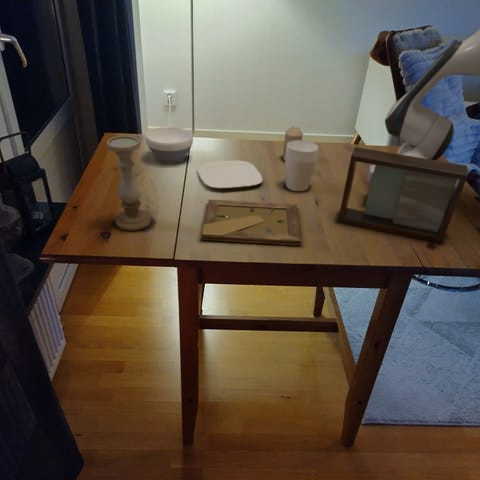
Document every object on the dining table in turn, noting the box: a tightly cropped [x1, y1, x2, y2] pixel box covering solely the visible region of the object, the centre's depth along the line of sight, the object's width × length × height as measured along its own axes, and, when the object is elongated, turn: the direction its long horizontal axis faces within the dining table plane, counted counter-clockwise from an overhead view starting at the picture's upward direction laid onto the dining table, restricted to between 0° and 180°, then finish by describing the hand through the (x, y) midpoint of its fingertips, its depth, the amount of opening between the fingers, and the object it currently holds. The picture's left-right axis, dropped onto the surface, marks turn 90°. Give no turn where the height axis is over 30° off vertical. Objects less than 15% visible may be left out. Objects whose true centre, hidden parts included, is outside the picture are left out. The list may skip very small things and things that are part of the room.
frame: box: [337, 146, 469, 244], centre depth 114 cm, size 6×26×18 cm, turn 70°
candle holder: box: [105, 135, 152, 232], centre depth 109 cm, size 9×9×20 cm
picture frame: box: [201, 199, 302, 246], centre depth 117 cm, size 19×2×24 cm
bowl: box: [145, 126, 194, 165], centre depth 145 cm, size 14×14×8 cm
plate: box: [196, 160, 264, 190], centre depth 137 cm, size 18×18×2 cm
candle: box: [282, 126, 304, 162], centre depth 147 cm, size 6×6×10 cm
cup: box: [284, 139, 319, 192], centre depth 132 cm, size 9×9×12 cm
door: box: [363, 165, 408, 219], centre depth 117 cm, size 4×11×14 cm, turn 70°
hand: (404, 191), depth 116 cm, fingers closed on door, 2 cm apart
